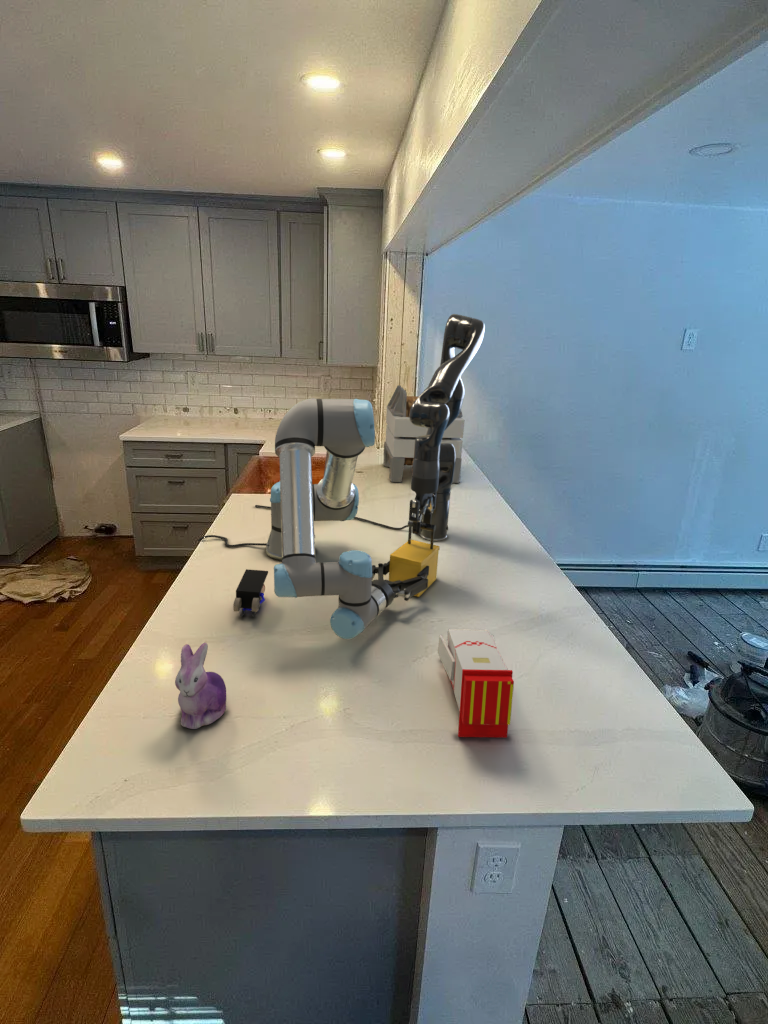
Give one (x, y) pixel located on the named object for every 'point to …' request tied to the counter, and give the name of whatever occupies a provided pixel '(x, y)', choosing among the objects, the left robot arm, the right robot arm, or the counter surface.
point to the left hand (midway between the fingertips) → (410, 566)
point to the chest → (412, 570)
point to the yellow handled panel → (416, 548)
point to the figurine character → (250, 591)
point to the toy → (478, 682)
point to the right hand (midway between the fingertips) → (421, 529)
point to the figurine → (199, 690)
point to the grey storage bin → (413, 436)
